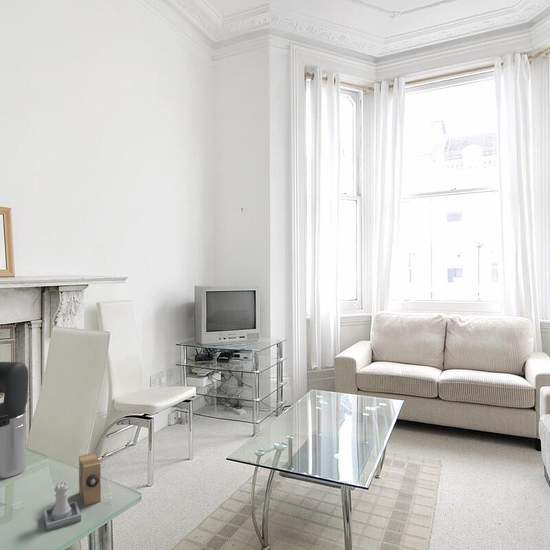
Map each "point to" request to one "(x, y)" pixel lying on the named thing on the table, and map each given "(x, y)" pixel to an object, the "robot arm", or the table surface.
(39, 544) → the table surface
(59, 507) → the rook chess piece
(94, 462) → the block
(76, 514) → the tray
